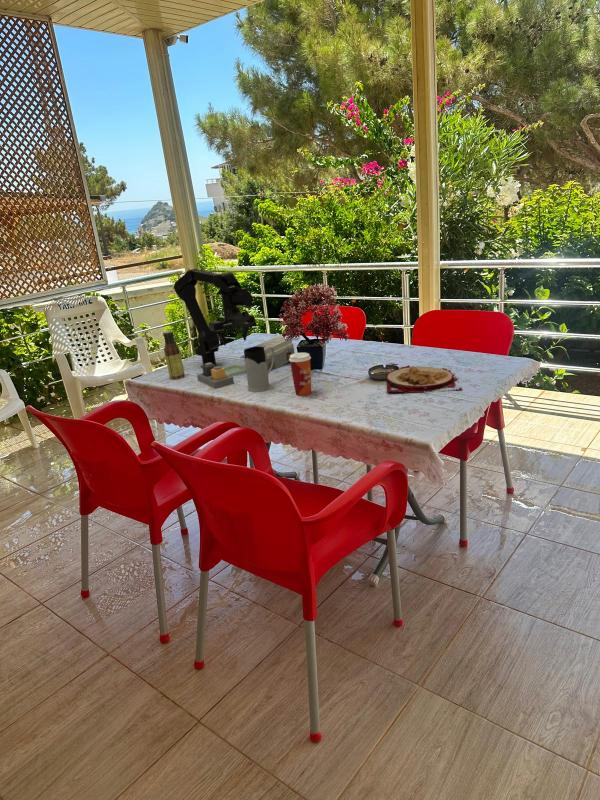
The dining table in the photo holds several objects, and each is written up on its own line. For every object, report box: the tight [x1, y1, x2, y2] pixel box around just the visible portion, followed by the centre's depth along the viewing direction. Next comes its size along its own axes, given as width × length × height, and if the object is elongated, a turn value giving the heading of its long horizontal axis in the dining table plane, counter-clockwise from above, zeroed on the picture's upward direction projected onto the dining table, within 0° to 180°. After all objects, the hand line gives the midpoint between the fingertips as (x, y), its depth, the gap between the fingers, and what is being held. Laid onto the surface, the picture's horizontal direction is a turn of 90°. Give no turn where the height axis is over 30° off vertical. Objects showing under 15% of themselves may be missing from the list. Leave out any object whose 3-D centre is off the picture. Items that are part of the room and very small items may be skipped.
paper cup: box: [289, 352, 312, 397], centre depth 194 cm, size 8×8×14 cm
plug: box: [211, 365, 226, 381], centre depth 214 cm, size 4×4×7 cm
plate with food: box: [385, 362, 463, 394], centre depth 196 cm, size 25×26×4 cm
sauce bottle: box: [162, 330, 185, 381], centre depth 227 cm, size 7×6×20 cm
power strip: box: [196, 372, 235, 390], centre depth 218 cm, size 16×8×3 cm, turn 35°
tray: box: [222, 363, 246, 377], centre depth 229 cm, size 11×11×2 cm
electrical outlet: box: [239, 336, 300, 371], centre depth 233 cm, size 12×28×10 cm, turn 138°
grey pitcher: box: [243, 346, 274, 393], centre depth 206 cm, size 9×14×15 cm, turn 139°
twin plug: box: [201, 363, 216, 377], centre depth 220 cm, size 4×4×7 cm
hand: (235, 342), depth 228 cm, fingers open, 9 cm apart
